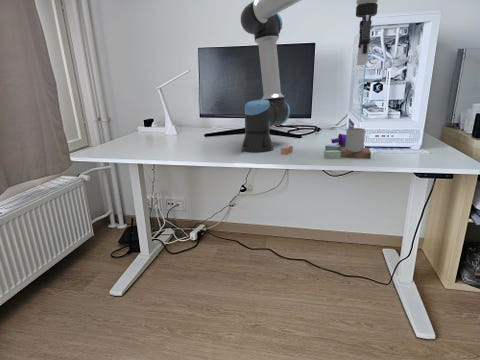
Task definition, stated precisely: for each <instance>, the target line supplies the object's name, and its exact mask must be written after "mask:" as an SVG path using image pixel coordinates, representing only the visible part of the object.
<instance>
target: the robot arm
mask: <svg viewBox="0 0 480 360" xmlns="http://www.w3.org/2000/svg"><path fill="white" fill-rule="evenodd" d="M301 1H302V0H253V1H252V2H250V3H249V4H247V5H246V6H245V7H244V8H243V10H242V11H241V14H240V25H241V26H242V29H243V30H244V32H245V33H248V34H250V35H254V42H255V44H256V45H258V53H259V61H260V62H259V63H260V73H261V81H262V82H261V83H262V92H263V96H262V97H261V99H256V100H251V101H248V102H246V103H245V105H244V138H243V141H242V144H241V152H245V153H250V154H251V153H253V154H254V153H257V154H258V153H259V154H260V153H261V154H262V153H268V152H272V151H274V144H273V141H272V137H271V135H270V134H271V133H270V127H274V126H279V125H281V124H284V123H286V122H288V121H287V120H288V119H289V118H290V114H291V108H290V105H289V104H288V102H287V101H286V99H285V96H284V95H283V94H282V91H281V79H280V67H279V56H278V49H277V48H278V46H277V42H278V40H279V38H280V34H281V31H282V29H283V20H282V17H281V15H280V14H279V13H280V12H282V11H285V10H286V9H288V8H290V7H291V6H294V5H296V3H299V2H301ZM378 1H379V0H356V3H355V4H356V6H355V7H356V8H355V17H357V18H362V19H361V20H360V21H359V32H358V33H359V37H358V47H357V48H358V51H357V62H356V66H365V64H368V63H369V61H368V59H369V50H370V49H369V47H370V41H371V29H372V17H374V16H376V15H378V6H379V5H378Z"/></svg>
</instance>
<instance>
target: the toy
mask: <svg viewBox="0 0 480 360" xmlns="http://www.w3.org/2000/svg"><path fill="white" fill-rule="evenodd" d="M331 144H338V145H337V146H340V147H343V146H345V145H346V134H344V133H343V134H342V133H338V136H337V138H332V139H331Z"/></svg>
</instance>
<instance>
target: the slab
mask: <svg viewBox="0 0 480 360" xmlns="http://www.w3.org/2000/svg"><path fill="white" fill-rule="evenodd" d="M340 151H341V158H340V159H344V158H346V159H347V158H348V159H370V160H371V157H372V156H371V155H372V152H371V149H370V148H369V147H363V151H361V152H349V151H346V150H345V146H340Z"/></svg>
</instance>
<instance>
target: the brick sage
mask: <svg viewBox="0 0 480 360" xmlns="http://www.w3.org/2000/svg"><path fill="white" fill-rule="evenodd" d="M323 153H324V157H323V158H325V160H331V159H332V160H335V159H338V160H339V159H342V158H341V151H339V150H333V151H325V150H324V152H323Z"/></svg>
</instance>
